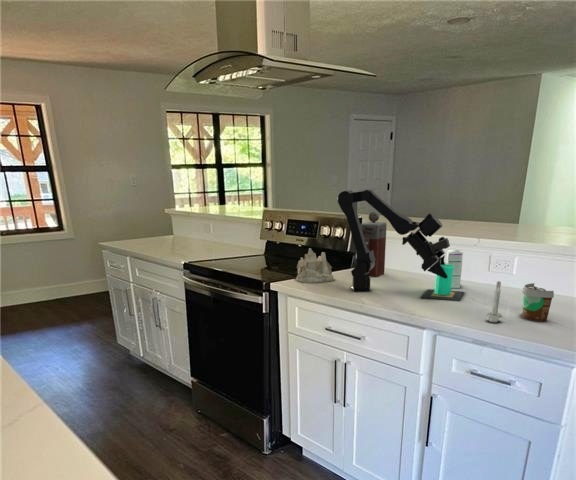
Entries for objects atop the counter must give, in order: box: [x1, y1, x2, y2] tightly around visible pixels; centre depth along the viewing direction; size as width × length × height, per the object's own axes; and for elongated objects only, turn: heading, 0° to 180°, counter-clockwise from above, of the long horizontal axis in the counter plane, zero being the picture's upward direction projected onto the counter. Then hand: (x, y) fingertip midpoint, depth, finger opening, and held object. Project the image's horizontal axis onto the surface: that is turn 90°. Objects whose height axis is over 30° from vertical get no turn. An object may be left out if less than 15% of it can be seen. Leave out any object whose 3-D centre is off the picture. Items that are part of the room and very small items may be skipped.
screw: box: [485, 280, 503, 323], centre depth 159 cm, size 13×5×5 cm
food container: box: [521, 282, 555, 322], centre depth 162 cm, size 12×6×10 cm, turn 5°
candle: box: [434, 262, 454, 295], centre depth 193 cm, size 6×6×12 cm
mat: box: [420, 288, 465, 302], centre depth 195 cm, size 14×14×1 cm
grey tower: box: [446, 249, 464, 289], centre depth 206 cm, size 6×6×14 cm
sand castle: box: [296, 247, 335, 284], centre depth 228 cm, size 16×16×15 cm
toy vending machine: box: [360, 211, 387, 278], centre depth 230 cm, size 9×11×28 cm
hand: (447, 276), depth 192 cm, fingers closed on candle, 5 cm apart
